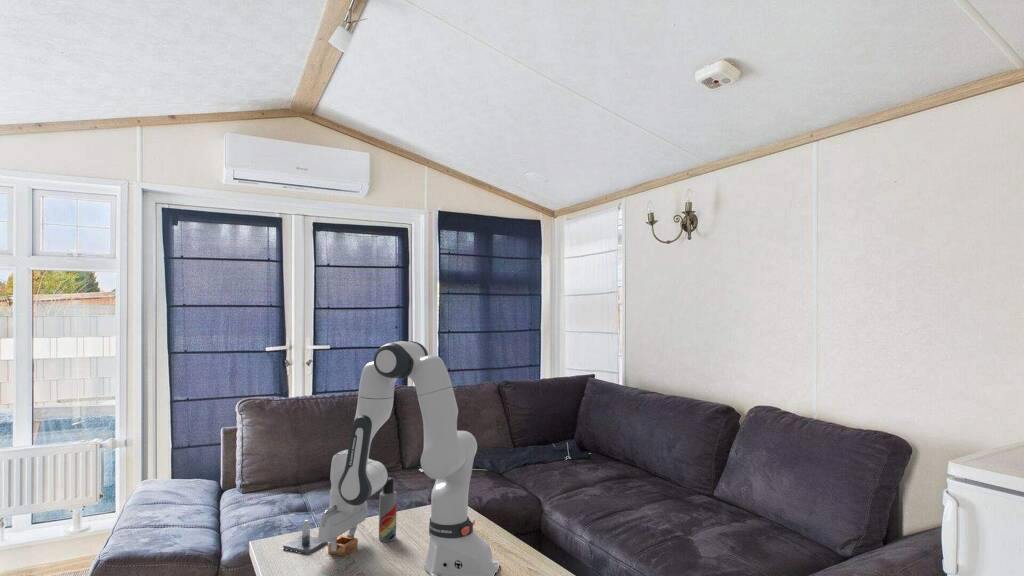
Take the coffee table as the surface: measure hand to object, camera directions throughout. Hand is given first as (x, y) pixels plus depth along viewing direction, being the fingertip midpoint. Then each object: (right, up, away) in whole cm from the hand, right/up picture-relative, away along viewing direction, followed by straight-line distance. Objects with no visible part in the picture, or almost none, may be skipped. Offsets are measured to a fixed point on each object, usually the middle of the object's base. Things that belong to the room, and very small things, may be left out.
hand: (342, 545), depth 174 cm
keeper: (-13, -2, +3) cm, 13 cm away
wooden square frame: (0, -2, 0) cm, 2 cm away
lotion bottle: (+12, -2, +9) cm, 15 cm away
